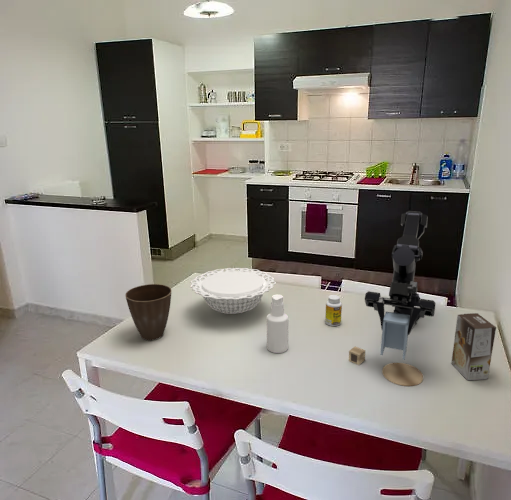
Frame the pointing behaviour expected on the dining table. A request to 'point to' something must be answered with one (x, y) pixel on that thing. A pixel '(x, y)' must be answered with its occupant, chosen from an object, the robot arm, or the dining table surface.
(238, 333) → the dining table surface
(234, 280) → the white woven basket
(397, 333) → the blue-grey open box
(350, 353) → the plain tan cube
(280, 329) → the spray bottle
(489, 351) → the coffee box
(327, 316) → the supplement bottle
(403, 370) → the coaster
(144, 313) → the plant pot
